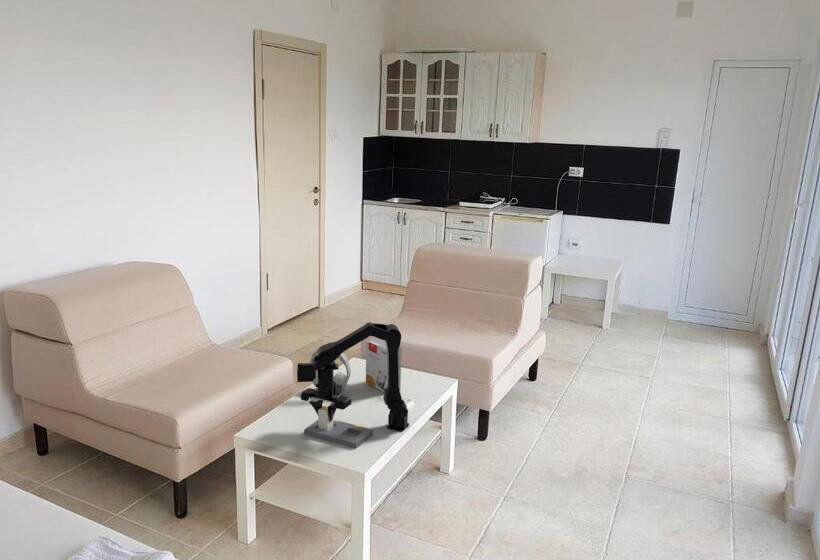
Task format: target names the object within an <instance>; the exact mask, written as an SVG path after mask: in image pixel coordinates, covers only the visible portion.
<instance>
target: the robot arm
mask: <svg viewBox="0 0 820 560" xmlns="http://www.w3.org/2000/svg"><path fill="white" fill-rule="evenodd" d="M369 337H374V338H379V339H381V340H385V343H386V347H387V364H388V386H387V388H383V391H384V392H383V397H382V399H383V401H384V404H385V405H386V407H387V409H388V410H389V413H388V414H387V415H388V418H387V420H388V421H387V423H388V425H387V426H386V428H387V429H390V430H394V431H399V432H403V431H405V430H406V429H407V428H408V427H409V426H410V423H409V422H408V421H409V420H408V419H409V410H408V406H407V405H406V403H405V400H404V399H402V394H401V389H400V390H399V375H398V350H399V347H401V341H402V332H400V329H399V327H398V325H395V324H393V323H390V324H383V323H373V322H372V321H371V322H367V323H365V324H364V325H362V326H360V327H359V328H357V329H356V330H354V331H352V332H350V333H349V334H347V335H345V336H344V337H342V338H340V339H338V340H336V341H333V342H328V343H326V344H323V345H321V346H319V347H318V349H317V350H318V351H317V355H316V356H315V358H314V359H313V360H312V363H310V362H307V363H304V362H303V363H302V362H297V365H296V366H297V369H296V381H297V383H308V382H309V383H310V382H312V383H313V381H314V379H316V371H317V370H318V383H317V384H316V387H315V388H316V389H315V388H311V387H308V388H306V389H305V390H303V391H301V393H300V400H301V401H305V402H308V401H309V402H308V403H309V405H311V406H312V408H313V409H314V411H315V413H316V415H317V416H318V410H319V409H320V408H321V407H323V403H324V401H325V402H329V403H330V405H328V406H327V407H328V416H329V421H330V422H331V421H332V419H333V420H334V416H335V413H336V411H337V409H338V410H346V409H347V408H348V407H350V405H352V398H351V397H350V396H346V395H342V394H341V395H340V396H339V397H338V396H337V395H338V394H339V393H341V391H342V386H343V385H342V384H337V383H336V382H335V381H334V371H339V364H338V363H336V362H335V361H336V360H338V359H339V358H338V357H339V356H340V355H341V354H342V353H343V354H344V352H346V351H348V350H349V349H350V348H351V349H352V348H353V347H355V346H356V345H358V344H359V343H361V342H363V341H365V340H366V339H368V338H369ZM317 387H318V390H317ZM335 396H336V397H335Z"/></svg>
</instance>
